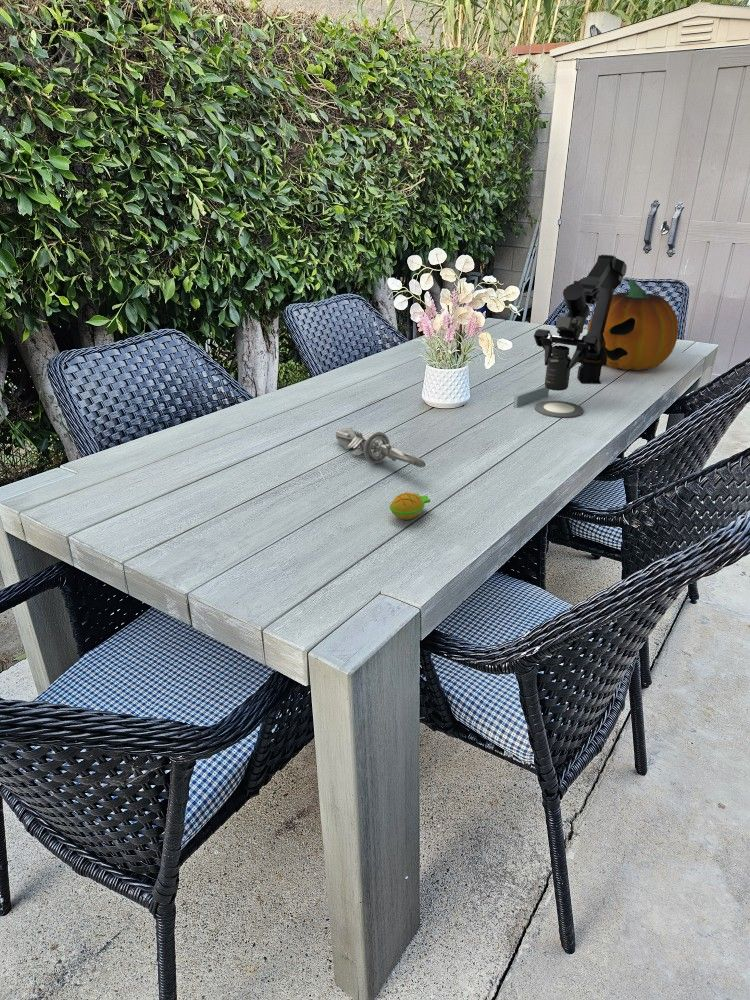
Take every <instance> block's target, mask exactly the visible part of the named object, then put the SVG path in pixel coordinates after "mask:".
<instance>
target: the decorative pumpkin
mask: <svg viewBox="0 0 750 1000" xmlns="http://www.w3.org/2000/svg"><path fill="white" fill-rule="evenodd" d="M628 284H629V287H630V291H627V292H618V293H617V292H616V294H614V293H613V297H612V301H611V305H610V309H609V313H608V317H607V321H606V325H605V329H604V333H603V336H604V339H605V342H606V346H605V348H606V352H607V364H606V366H608V367H609V368H617V369H621V370H636V371H641V370H649V369H653V368H656V367H659V366H660V365H661V364H663V363H664V362H665V361H666V360H667V359H668V358H669V357H670V355H671V354H672V353H673V352H674V351H673V350H674V349H675V346H676V344H677V339H678V336H679V321H678V317H677V315H676V314H677V313H676V311H674V309H673V307H672V305H671V304H670V302H668V301H667V300H665V298H663V297H662V296H661V295H657V294H653V293H646V291H645V289H642V287H641V286H639V285H638V284H637V282H636V281H635V280H634V279H632V278H630V279H629V280H628ZM593 314H594V312H593ZM593 314H592V316H591V319H590V321H589V323H588V327H587V332H586V334H587V333H588V332H589V330H590V326H591V322H592V318H593ZM600 361H601V360H600Z"/></svg>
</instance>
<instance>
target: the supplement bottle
mask: <svg viewBox="0 0 750 1000" xmlns="http://www.w3.org/2000/svg"><path fill="white" fill-rule="evenodd" d="M552 347H553V348H552V354H551V356H549V358H548V360H547V365H546V368H545V369H546V370H545V377H544V386H545V387H546V388H547V389H549V391H557V392H559V391H560V392H562V391H565V390H567V389H568V388H569V383H570V375H571V369H569V364H570V361H571V359H572V357H570V347H569V346H568V345H554V346H553V345H552Z"/></svg>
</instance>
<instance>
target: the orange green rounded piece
mask: <svg viewBox="0 0 750 1000" xmlns="http://www.w3.org/2000/svg"><path fill="white" fill-rule="evenodd" d="M428 497H429V496H428V495H420V494H419V493H415V492H408V491H407V492H403V493H400V494H398V495H396V497H395V498H393V499H392V501H391V503H390V505H389V510H390V511H391V513H392V514H393V515H394V516H395V517H396V518H398V519H399V520H405V521H406V520H411V519H414V518H416V517H417V516H419V515H420V513H421V512H422V511H423V509H424V508H425V504H429V503H430V502H431V499H430V498H428Z"/></svg>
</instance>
